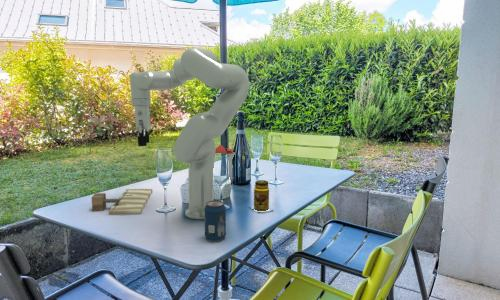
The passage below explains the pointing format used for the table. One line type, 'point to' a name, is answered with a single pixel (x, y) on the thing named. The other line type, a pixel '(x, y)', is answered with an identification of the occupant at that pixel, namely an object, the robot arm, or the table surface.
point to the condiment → (261, 195)
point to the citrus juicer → (231, 154)
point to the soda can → (215, 220)
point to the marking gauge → (101, 201)
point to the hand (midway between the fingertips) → (144, 144)
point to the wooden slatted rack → (131, 202)
